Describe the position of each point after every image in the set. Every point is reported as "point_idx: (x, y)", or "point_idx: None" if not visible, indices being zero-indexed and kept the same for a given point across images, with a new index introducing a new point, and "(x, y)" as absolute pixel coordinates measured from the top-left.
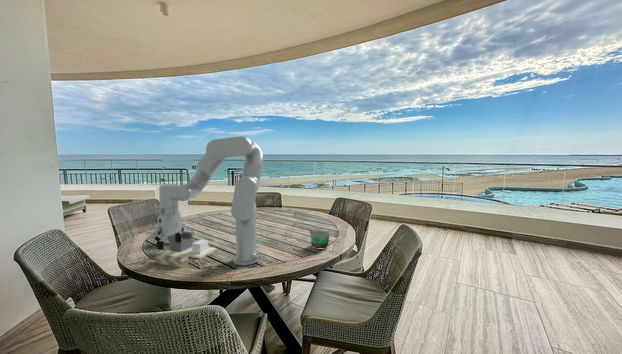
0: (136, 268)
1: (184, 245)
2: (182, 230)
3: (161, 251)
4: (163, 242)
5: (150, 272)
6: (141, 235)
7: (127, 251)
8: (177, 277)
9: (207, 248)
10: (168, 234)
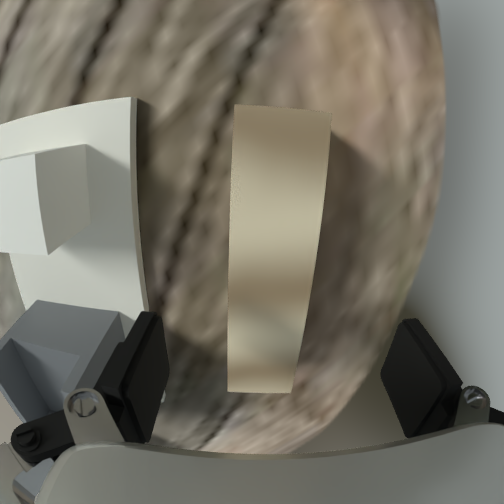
0: (361, 366)
1: (77, 329)
2: (44, 430)
3: (254, 381)
4: (435, 374)
5: (403, 267)
6: None
7: None
8: (425, 55)
9: (18, 154)
10: (467, 445)
